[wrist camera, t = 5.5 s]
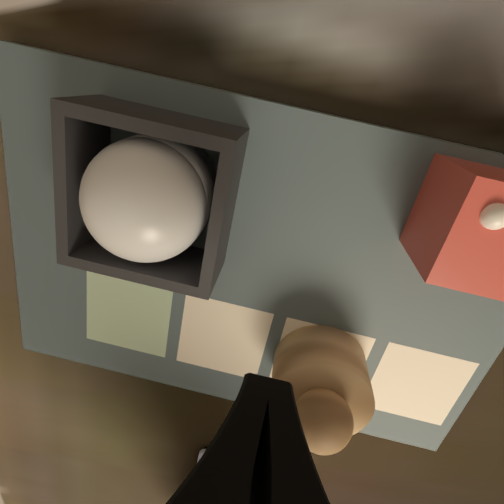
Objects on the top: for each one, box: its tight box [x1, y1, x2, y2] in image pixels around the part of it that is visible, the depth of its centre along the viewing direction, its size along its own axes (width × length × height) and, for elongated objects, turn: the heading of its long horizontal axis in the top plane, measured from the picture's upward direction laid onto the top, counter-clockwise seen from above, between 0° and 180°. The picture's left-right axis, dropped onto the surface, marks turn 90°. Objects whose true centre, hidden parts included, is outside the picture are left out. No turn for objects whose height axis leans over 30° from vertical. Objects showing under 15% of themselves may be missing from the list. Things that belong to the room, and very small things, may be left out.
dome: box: [79, 134, 217, 263], centre depth 15 cm, size 5×5×5 cm
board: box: [0, 40, 504, 451], centre depth 18 cm, size 17×26×4 cm, turn 78°
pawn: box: [272, 325, 375, 455], centre depth 18 cm, size 5×5×5 cm
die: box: [399, 153, 504, 302], centre depth 14 cm, size 4×4×4 cm
